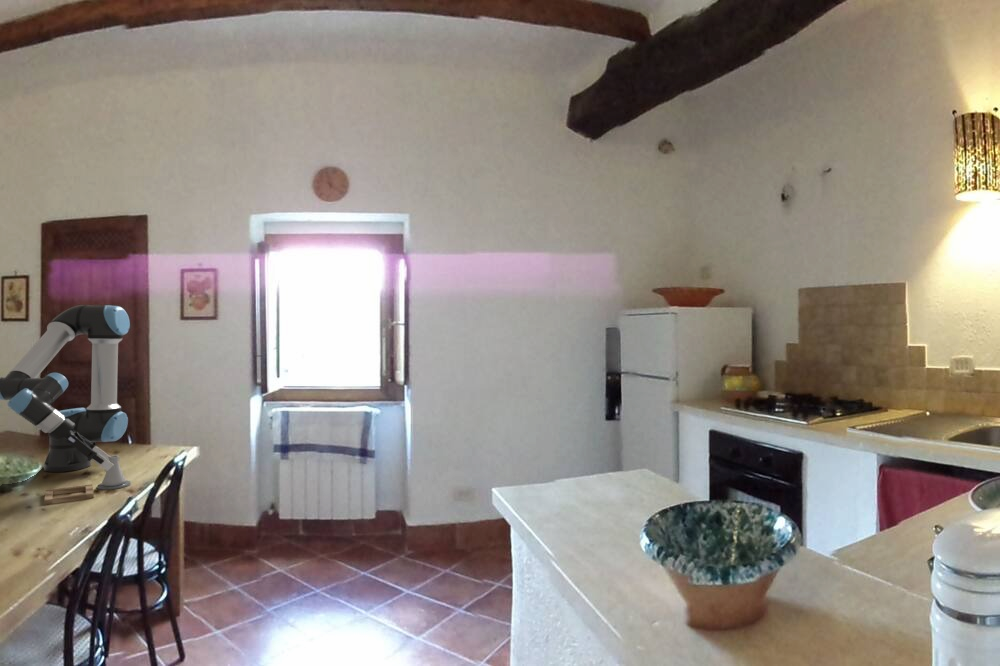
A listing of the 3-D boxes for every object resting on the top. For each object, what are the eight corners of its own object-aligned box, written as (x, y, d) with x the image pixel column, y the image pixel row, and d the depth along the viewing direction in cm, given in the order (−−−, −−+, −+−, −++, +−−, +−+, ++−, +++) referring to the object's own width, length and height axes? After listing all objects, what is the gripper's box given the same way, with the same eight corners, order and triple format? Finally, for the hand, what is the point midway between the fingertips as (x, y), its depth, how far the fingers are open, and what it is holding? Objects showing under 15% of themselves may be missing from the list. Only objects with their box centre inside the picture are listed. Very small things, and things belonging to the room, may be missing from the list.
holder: (45, 494, 200) (45, 490, 200) (92, 488, 208) (92, 484, 208) (44, 504, 190) (44, 500, 190) (93, 498, 197) (93, 493, 197)
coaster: (106, 482, 216) (106, 480, 216) (135, 481, 217) (135, 480, 217) (91, 490, 206) (91, 488, 206) (121, 489, 207) (121, 487, 207)
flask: (114, 487, 207) (114, 459, 207) (96, 486, 209) (96, 458, 209) (130, 482, 214) (130, 454, 214) (113, 480, 216) (113, 453, 216)
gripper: (47, 428, 209) (97, 464, 219) (46, 440, 190) (102, 480, 199) (65, 412, 212) (115, 448, 222) (66, 422, 193) (121, 462, 202)
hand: (109, 463), depth 210 cm, fingers open, 13 cm apart
